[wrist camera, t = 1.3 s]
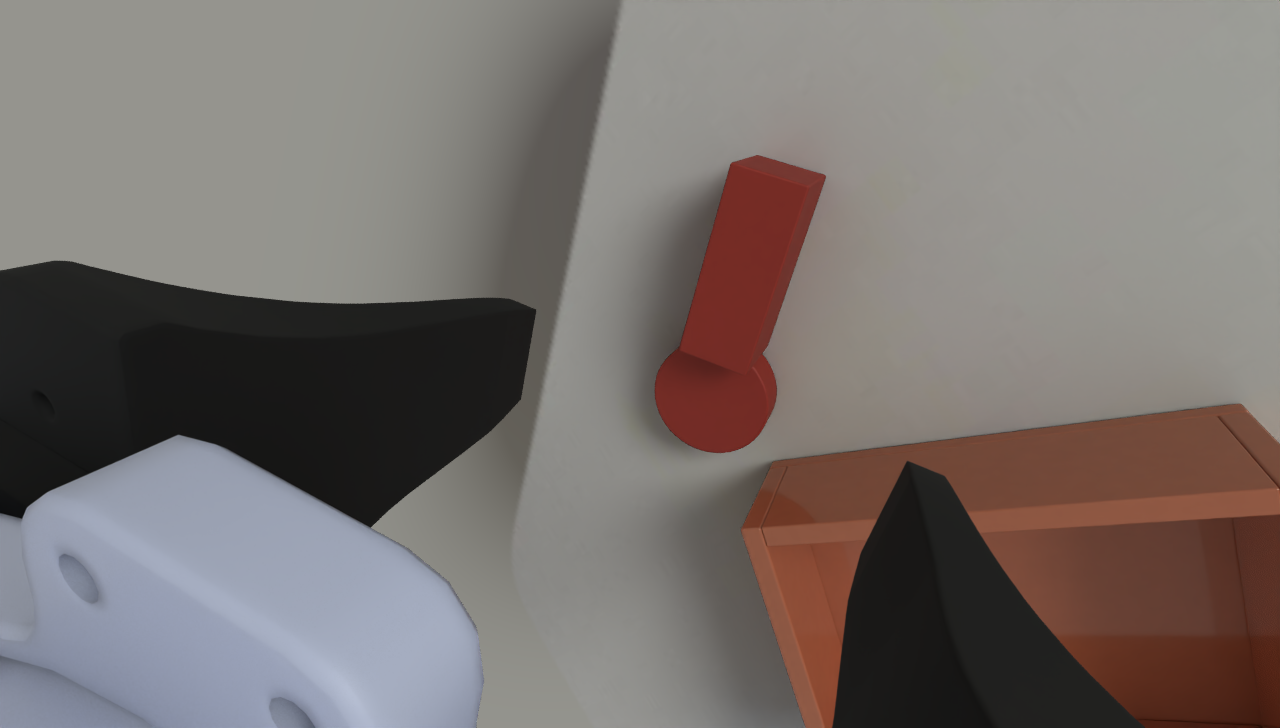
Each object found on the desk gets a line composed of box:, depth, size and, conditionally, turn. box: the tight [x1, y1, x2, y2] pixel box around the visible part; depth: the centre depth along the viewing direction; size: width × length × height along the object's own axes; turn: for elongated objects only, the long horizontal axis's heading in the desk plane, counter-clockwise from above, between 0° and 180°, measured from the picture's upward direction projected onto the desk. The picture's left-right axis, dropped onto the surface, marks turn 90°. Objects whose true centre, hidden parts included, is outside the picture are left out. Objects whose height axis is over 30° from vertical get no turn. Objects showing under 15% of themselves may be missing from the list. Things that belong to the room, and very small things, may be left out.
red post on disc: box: [655, 155, 826, 453], centre depth 19 cm, size 9×4×3 cm, turn 166°
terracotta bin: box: [741, 404, 1280, 728], centre depth 18 cm, size 12×10×4 cm
